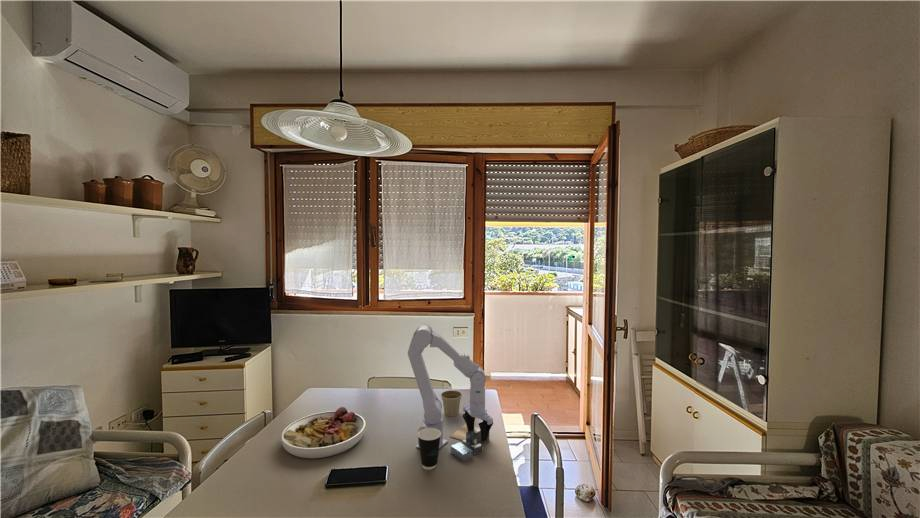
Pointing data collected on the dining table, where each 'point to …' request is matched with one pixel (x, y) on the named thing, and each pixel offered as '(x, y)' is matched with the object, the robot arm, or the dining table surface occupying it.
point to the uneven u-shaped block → (470, 441)
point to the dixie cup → (429, 447)
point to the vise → (462, 451)
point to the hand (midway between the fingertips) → (477, 436)
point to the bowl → (323, 433)
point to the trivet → (461, 433)
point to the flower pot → (451, 402)
